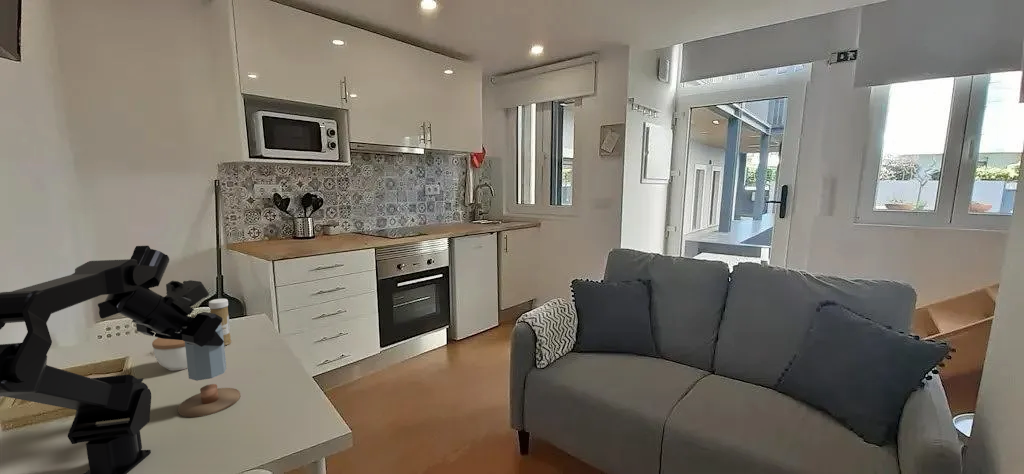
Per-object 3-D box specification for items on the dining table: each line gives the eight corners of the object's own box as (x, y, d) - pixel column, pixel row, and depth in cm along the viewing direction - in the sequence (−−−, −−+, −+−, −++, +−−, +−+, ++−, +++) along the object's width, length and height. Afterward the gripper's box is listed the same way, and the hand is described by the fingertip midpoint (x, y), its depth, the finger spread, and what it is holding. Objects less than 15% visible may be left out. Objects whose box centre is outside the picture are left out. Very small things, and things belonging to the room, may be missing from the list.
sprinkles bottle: (212, 348, 120) (207, 303, 118) (214, 343, 124) (209, 299, 122) (231, 345, 122) (226, 301, 121) (232, 340, 126) (228, 297, 125)
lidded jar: (179, 377, 103) (175, 340, 102) (144, 372, 105) (139, 337, 104) (217, 358, 114) (214, 325, 112) (185, 355, 116) (181, 322, 114)
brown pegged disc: (221, 415, 86) (219, 399, 86) (164, 418, 85) (162, 401, 85) (250, 389, 97) (248, 374, 96) (200, 391, 96) (198, 376, 96)
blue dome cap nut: (222, 376, 89) (217, 331, 87) (186, 382, 86) (181, 335, 85) (228, 364, 94) (224, 322, 93) (194, 369, 92) (190, 326, 90)
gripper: (207, 275, 80) (264, 313, 92) (146, 267, 87) (207, 304, 98) (165, 328, 74) (232, 361, 85) (104, 315, 80) (173, 348, 92)
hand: (211, 341), depth 91 cm, fingers closed on blue dome cap nut, 6 cm apart
